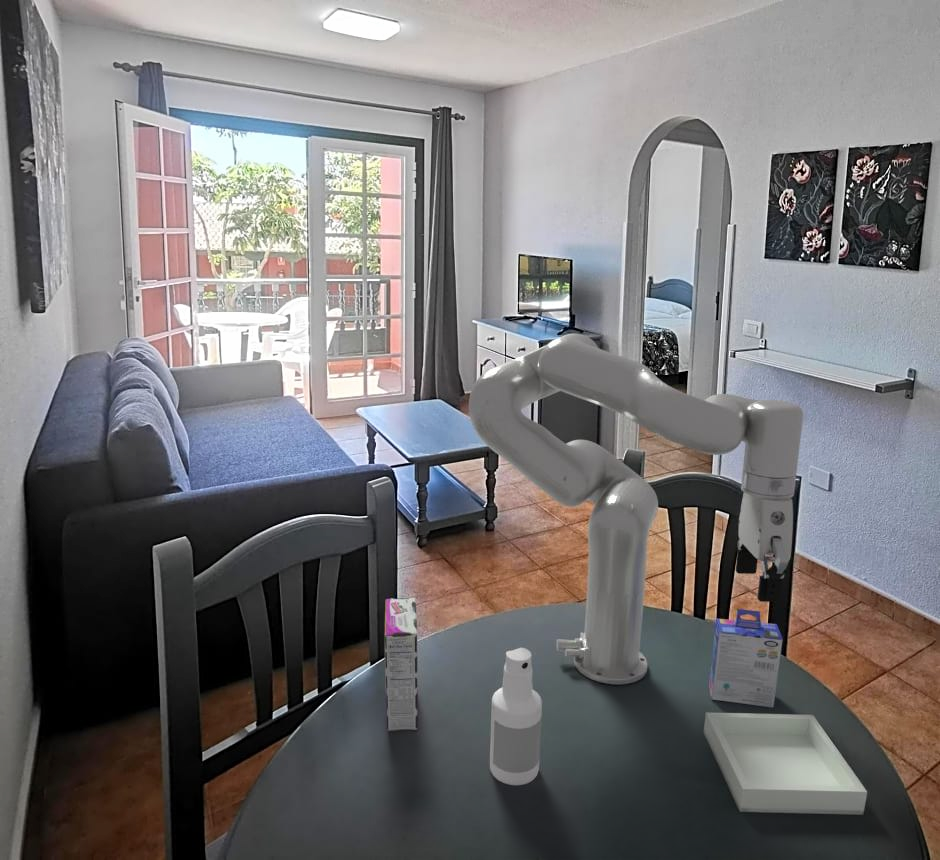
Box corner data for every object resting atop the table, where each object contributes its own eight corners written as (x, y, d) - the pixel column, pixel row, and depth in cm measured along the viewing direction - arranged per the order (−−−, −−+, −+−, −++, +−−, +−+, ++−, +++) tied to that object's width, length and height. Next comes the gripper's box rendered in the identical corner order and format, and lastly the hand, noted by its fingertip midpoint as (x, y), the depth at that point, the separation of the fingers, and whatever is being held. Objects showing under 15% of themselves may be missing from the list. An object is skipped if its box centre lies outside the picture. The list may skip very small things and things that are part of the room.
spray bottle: (505, 793, 99) (509, 673, 95) (480, 761, 105) (484, 647, 101) (548, 777, 102) (554, 660, 98) (522, 747, 108) (527, 636, 104)
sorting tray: (739, 811, 97) (742, 788, 96) (703, 732, 112) (705, 712, 111) (863, 814, 97) (867, 791, 96) (809, 735, 112) (813, 714, 111)
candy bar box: (385, 689, 121) (384, 597, 117) (416, 688, 122) (416, 596, 118) (384, 733, 111) (383, 633, 107) (418, 731, 111) (418, 632, 107)
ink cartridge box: (769, 689, 124) (780, 610, 120) (775, 709, 118) (787, 627, 115) (707, 681, 125) (716, 603, 122) (711, 700, 120) (720, 619, 117)
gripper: (818, 502, 104) (804, 613, 109) (771, 466, 121) (760, 563, 125) (764, 501, 104) (752, 612, 109) (724, 465, 121) (715, 563, 125)
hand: (756, 586), depth 117 cm, fingers open, 9 cm apart
